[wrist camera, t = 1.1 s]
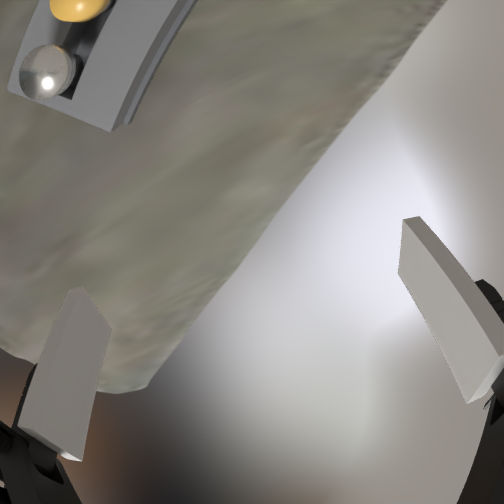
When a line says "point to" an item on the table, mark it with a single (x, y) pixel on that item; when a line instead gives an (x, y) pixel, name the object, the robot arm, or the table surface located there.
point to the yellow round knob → (79, 9)
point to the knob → (48, 71)
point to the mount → (106, 56)
